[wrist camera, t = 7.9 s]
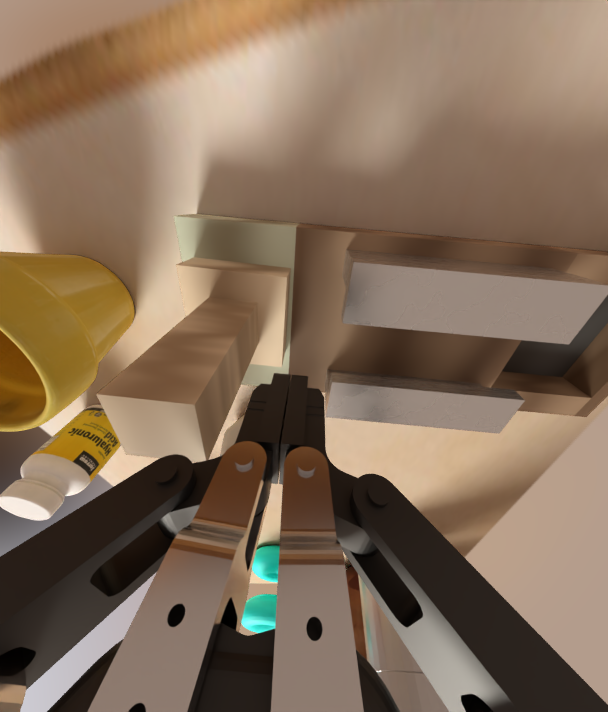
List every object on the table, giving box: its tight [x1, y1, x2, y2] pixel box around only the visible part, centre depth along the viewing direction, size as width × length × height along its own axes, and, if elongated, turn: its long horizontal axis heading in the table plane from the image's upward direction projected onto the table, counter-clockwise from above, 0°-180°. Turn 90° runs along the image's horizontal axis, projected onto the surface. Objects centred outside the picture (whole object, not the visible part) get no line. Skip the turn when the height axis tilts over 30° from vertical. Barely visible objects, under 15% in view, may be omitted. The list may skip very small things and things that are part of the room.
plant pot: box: [0, 252, 135, 431], centre depth 16 cm, size 10×10×10 cm
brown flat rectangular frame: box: [174, 214, 608, 417], centre depth 18 cm, size 32×12×3 cm, turn 86°
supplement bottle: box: [0, 404, 121, 520], centre depth 24 cm, size 5×5×10 cm
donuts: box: [241, 545, 280, 633], centre depth 43 cm, size 10×10×10 cm
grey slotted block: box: [325, 249, 608, 433], centre depth 15 cm, size 12×10×4 cm
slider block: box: [96, 257, 291, 462], centre depth 12 cm, size 6×6×10 cm
